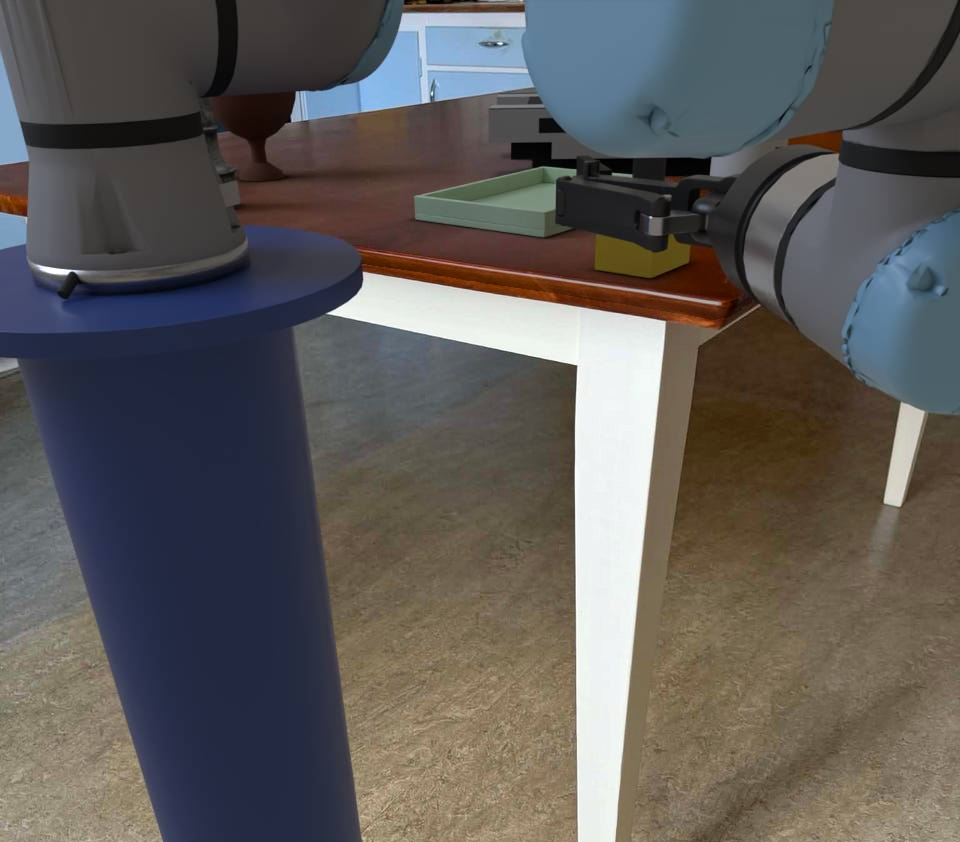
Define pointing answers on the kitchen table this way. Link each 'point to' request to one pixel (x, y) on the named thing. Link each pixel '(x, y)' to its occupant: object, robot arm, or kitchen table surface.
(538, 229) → the tray
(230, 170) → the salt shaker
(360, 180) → the kitchen table surface
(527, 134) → the game console
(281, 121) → the ice cream bowl
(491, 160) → the kitchen table surface
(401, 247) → the kitchen table surface
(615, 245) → the sponge wand
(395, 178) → the kitchen table surface
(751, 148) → the can
